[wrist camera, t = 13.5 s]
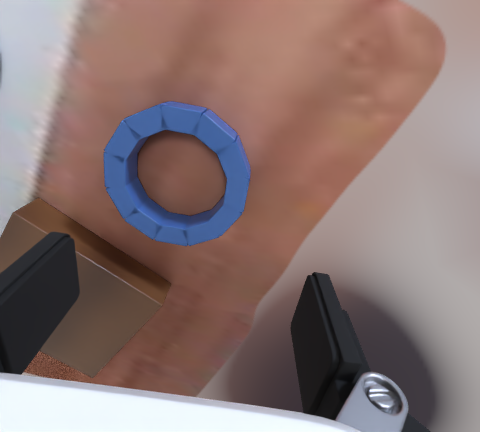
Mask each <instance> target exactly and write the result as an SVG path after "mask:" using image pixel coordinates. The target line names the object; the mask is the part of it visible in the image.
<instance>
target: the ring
mask: <svg viewBox="0 0 480 432" xmlns="http://www.w3.org/2000/svg"><path fill="white" fill-rule="evenodd" d="M163 130H170V131H175V132H180V133H186V134H191V135H194V136H196V137H197V138H198V139H199V140H201V141H202V142H203V143H204V144H205V145H207V146H208V147H209V148H210V149H212V150H213V151H214V152H215V153H216V154H217V155H218V158H219V160H220V163H221V165H222V168H223V170H224V173H225V175H226V178H227V184H226V190H225V195H224V196H223V197H222V199H221V200H220V201H219V202H218V203H217V204H216V205H215V206H214V208H213V209H212V210H209V211H206V212H202V213H199V214H196V215H193V216H188V215H182V214H177V213H171V212H168V211H166V210H165V209H164V208H162V207H161V206H159V205H158V204H157V203H155V202H154V201H153V200H151V199H150V198H148V196H147V194H146V192H145V190H144V188H143V186H142V185H141V183H140V181H139V179H138V177H137V158H138V152H139V150H140V149H141V147H142V146H143V144H144V143H145V141H146V140H147V139H148V137H149V136H150V135H153V134H156V133H158V132H161V131H163ZM104 151H105V152H104V176H105V187H107V188H106V190H107V192H108V194H109V196H110V197H111V199H112V201H113V202H114V204H115V206H116V207H117V209H118V211H119V212H120V214H121V216H122V217H123V219H124V218H126V219H125V221H126V222H128V223H129V224H130V225H132V226H133V227H135V228H136V229H138V230H139V231H141V232H142V233H144V234H145V235H147V236H148V237H149V238H151V239H152V240H153V239H154V238H155V241H161V242H166V243H172V244H177V245H183V246H187V245H189V246H191V245H194V244H198V243H201V242H205V241H208V240H212V239H215V238H218V237H219V236H222V235H223V234H224V232H225V231H226V230H227V229H228V228H229V227H230V226H231V225H232V224H233V223H234V222H235V221H236V220H237V219H238V218H239V217H240V216H241V215H242V212H243V211H244V206H245V201H246V196H247V191H248V186H249V181H250V171H251V170H250V165H249V162H248V159H247V157H246V154H245V151H244V148H243V146H242V143H241V140H240V137H239V135H237V133H236V132H235V131H234V130H233V129H232V128H231V127H230V126H228V125H227V124H226V123H225V122H224V121H223V120H221V119H220V118H219V117H218V116H217V115H216V114H214V113H213V112H212V111H211V110H210V109H209V110H207V108H205V107H199V106H194V105H189V104H183V103H178V102H173V101H171V102H165V103H162V104H158V105H156V106H153V107H151V108H149V109H146V110H144V111H141V112H139V113H137V114H134V115H132V116H129V117H127V118H125V119H124V120H122V121H121V123H120V125H119V126H118V128H117V130H116V131H115V133H114V134H113V136H112V138H111V139H110V141H109V143H108V144H107V146H106V148H105V149H104Z"/></svg>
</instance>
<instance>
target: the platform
mask: <svg viewBox="0 0 480 432" xmlns="http://www.w3.org/2000/svg"><path fill="white" fill-rule="evenodd" d="M53 231H54V232H61V233H67V234H69V235H70V237H71V238H73V239H74V241H75V250H76V259H77V268H78V277H79V287H80V294H79V297H78V299H77V301H76V302H75V303H74V305H73V306H72V307H71V309H70V310H69V311H68V313H67V314H66V315H65V317H64V318H63V319H62V321H61V322H60V323H59V325H58V326H57V327H56V329H55V330H54V331H53V333H52V334H51V335H50V337H49V338H48V339H47V341H46V342H45V343H44V345H43V346H42V347H41V349H40V350H39V351H41V352H43V353H45V354H47V355H49V356H51V357H53V358H55V359H57V360H59V361H61V362H62V363H64V364H66V365H68V366H70V367H72V368H74V369H76V370H78V371H80V372H82V373H84V374H86V375H88V376H90V377H92V378H93V377H94V376H95V375H96V374H97V373H98V372H99V371H100V370H101V369H102V368H103V367H104V366H105V365H106V364H107V363H108V362H109V361H110V360H111V359H112V357H113V356H114V355H115V354H116V353H117V352H118V351H119V350H120V349H121V348H122V347H123V346H124V345H125V344H126V343H127V342H128V341H129V340H130V339H131V338H132V337H133V336H134V335H135V333H136V332H137V331H138V330H139V329H140V328H141V327H142V326H143V325H144V324H145V323H146V322H147V321H148V320H149V319H150V318H151V317H152V316H153V315H154V314H155V313H156V312H157V311H158V310H159V308H160V307H161V306H162V305H163V303H164V300H165V298H166V296H167V293H168V291H169V288H170V286H171V283H169V282H168V281H166V280H164V279H163V278H161V277H160V276H158V275H157V274H155V273H154V272H152V271H151V270H149V269H148V268H146V267H144V266H143V265H141V264H140V263H138V262H137V261H135V260H134V259H132V258H131V257H129V256H128V255H126V254H124V253H123V252H121V251H120V250H118V249H117V248H115V247H114V246H112V245H111V244H109V243H108V242H106V241H104V240H103V239H101V238H100V237H98V236H97V235H95V234H94V233H92V232H91V231H89V230H88V229H86V228H84V227H83V226H81V225H80V224H78V223H77V222H75V221H74V220H72V219H71V218H69V217H67V216H66V215H64V214H63V213H61V212H60V211H58V210H57V209H55V208H54V207H52V206H51V205H49V204H47V203H46V202H44V201H43V200H41V199H40V198H38V199H36V200H34V201H32V202H31V203H29V204H27V205H25V206H23V207H22V208H20V209H18V210H16V211H15V212H13V213H12V215H11V217H10V219H9V221H8V223H7V225H6V227H5V229H4V231H3V233H2V235H1V237H0V273H1V272H3V271H4V270H5V269H6V268H7V267H9V266H10V265H11V264H12V263H14V262H15V261H16V260H17V259H18V258H20V257H21V256H22V255H23V254H24V253H26V252H27V251H28V250H29V249H31V248H32V247H33V246H34V245H35V244H37V243H38V242H39V241H40V240H41V239H43V238H44V237H45V236H46V235H48V234H49V233H50V232H53Z"/></svg>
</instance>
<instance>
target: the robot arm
mask: <svg viewBox="0 0 480 432" xmlns="http://www.w3.org/2000/svg"><path fill="white" fill-rule="evenodd" d="M79 294H80V287H79V277H78V268H77V259H76V250H75V241H74V239H73V238H71V237H70V235H69V234H67V233H61V232H54V231H53V232H50V233H49V234H48V235H46V236H45V237H44V238H43V239H41V240H40V241H39V242H38V243H37V244H35V245H34V246H33V247H32V248H31V249H29V250H28V251H27V252H26V253H24V254H23V255H22V256H21V257H20V258H18V259H17V260H16V261H15V262H14V263H12V264H11V265H10V266H9V267H7V268H6V269H5V270H4V271H3V272H1V273H0V432H430V431H429V430H428V429H427V428H426V427H424V426H423V425H422V424H421V423H419V422H418V421H417V420H416V419H415V418H413V417H412V416H411V415H410V414H409V413H408V404H407V400H406V398H405V396H404V394H403V392H402V391H401V390H400V388H399V387H398V386H397V385H396V384H395V383H394V382H393V381H391V380H390V379H389V378H387V377H385V376H384V375H382V374H378V373H376V372H371V371H370V368H369V366H368V363H367V361H366V358H365V356H364V353H363V351H362V348H361V346H360V343H359V341H358V338H357V336H356V333H355V331H354V328H353V326H352V323H351V321H350V318H349V316H348V314H347V312H346V311H345V310H342V309H341V306H340V303H339V301H338V298H337V296H336V293H335V290H334V288H333V285H332V283H331V280H330V277H329V275H328V274H322V273H316V272H314V273H313V274H312V275H308V276H307V279H306V281H305V284H304V287H303V290H302V293H301V296H300V299H299V302H298V305H297V307H296V310H295V313H294V316H293V320H292V322H291V335H292V342H293V348H294V354H295V361H296V367H297V374H298V380H299V387H300V393H301V400H302V406H303V412H304V413H300V412H293V411H287V410H280V409H274V408H268V407H261V406H254V405H247V404H240V403H232V402H226V401H218V400H211V399H204V398H197V397H189V396H182V395H175V394H167V393H160V392H152V391H145V390H137V389H129V388H122V387H114V386H106V385H99V384H91V383H83V382H75V381H67V380H59V379H51V378H44V377H36V376H28V375H21V374H22V373H23V372H24V370H25V369H26V368H27V366H28V365H29V364H30V362H31V361H32V360H33V358H34V357H35V356H36V354H37V353H38V352H39V350H40V349H41V347H42V346H43V345H44V343H45V342H46V341H47V339H48V338H49V337H50V335H51V334H52V333H53V331H54V330H55V329H56V327H57V326H58V325H59V323H60V322H61V321H62V319H63V318H64V317H65V315H66V314H67V313H68V311H69V310H70V309H71V307H72V306H73V305H74V303H75V302H76V301H77V299H78V297H79Z"/></svg>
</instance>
